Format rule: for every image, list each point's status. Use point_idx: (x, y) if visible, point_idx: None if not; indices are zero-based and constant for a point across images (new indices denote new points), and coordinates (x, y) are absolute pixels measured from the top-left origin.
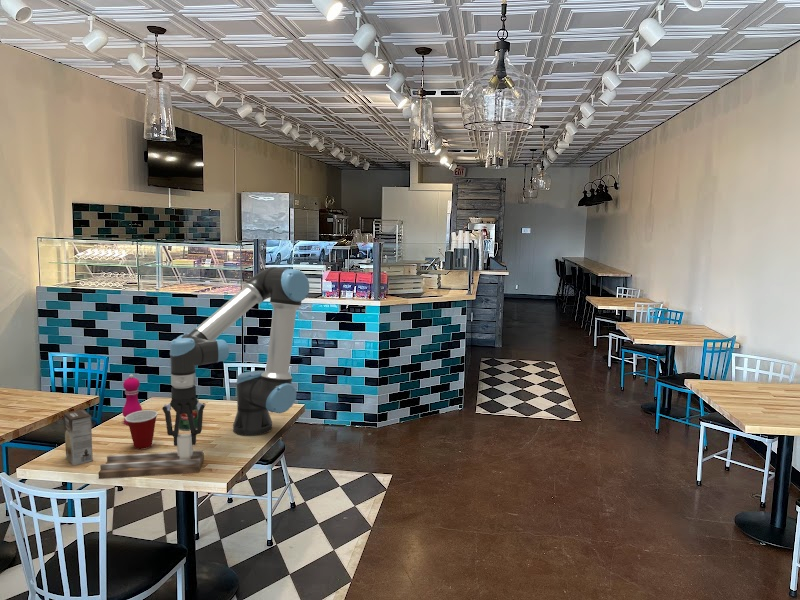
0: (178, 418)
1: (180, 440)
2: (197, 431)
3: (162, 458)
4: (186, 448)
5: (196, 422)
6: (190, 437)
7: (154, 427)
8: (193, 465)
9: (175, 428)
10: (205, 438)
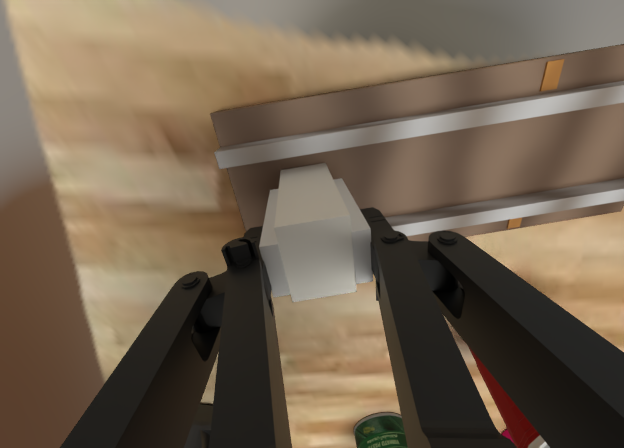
0: (434, 406)
1: (336, 208)
2: (200, 286)
3: (414, 207)
4: (292, 191)
5: (361, 443)
6: (266, 242)
7: (494, 394)
8: (244, 128)
9: (413, 278)
10: (313, 380)
